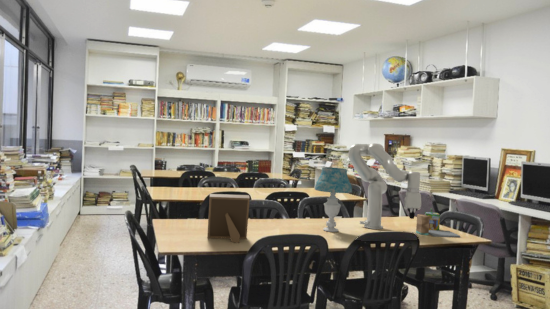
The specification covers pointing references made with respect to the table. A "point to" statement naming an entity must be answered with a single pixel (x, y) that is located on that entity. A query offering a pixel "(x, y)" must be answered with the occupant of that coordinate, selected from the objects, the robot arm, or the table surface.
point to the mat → (442, 233)
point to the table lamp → (333, 192)
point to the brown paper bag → (422, 224)
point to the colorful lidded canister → (433, 220)
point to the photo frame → (228, 216)
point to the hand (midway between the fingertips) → (411, 218)
